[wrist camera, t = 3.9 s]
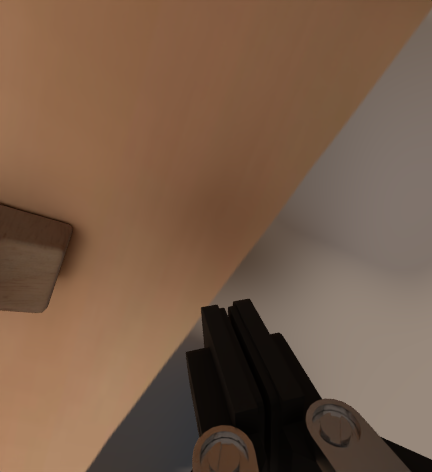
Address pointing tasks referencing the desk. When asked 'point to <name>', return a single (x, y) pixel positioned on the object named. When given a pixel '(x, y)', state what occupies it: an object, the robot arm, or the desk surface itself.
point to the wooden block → (29, 259)
